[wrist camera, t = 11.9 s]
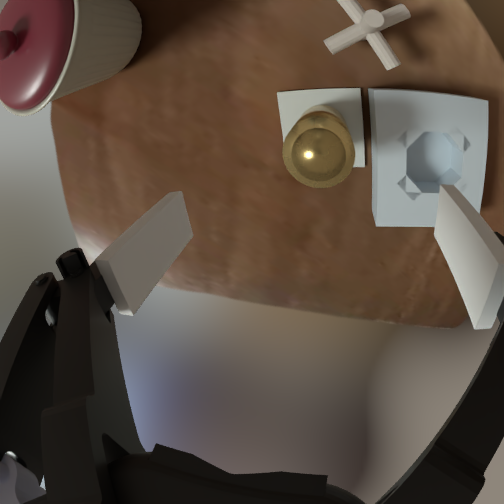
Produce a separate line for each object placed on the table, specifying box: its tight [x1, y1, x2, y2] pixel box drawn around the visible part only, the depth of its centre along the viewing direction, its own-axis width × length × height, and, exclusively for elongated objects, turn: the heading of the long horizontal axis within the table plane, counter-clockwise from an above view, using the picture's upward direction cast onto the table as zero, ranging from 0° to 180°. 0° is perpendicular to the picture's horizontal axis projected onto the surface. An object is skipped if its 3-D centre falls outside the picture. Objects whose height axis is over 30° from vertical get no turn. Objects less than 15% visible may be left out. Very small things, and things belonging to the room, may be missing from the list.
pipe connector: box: [324, 0, 411, 70], centre depth 22 cm, size 10×10×10 cm
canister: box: [0, 0, 142, 116], centre depth 24 cm, size 18×18×21 cm
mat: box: [277, 88, 365, 167], centre depth 34 cm, size 10×10×1 cm
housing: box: [368, 88, 488, 227], centre depth 30 cm, size 16×14×5 cm
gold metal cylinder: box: [283, 105, 355, 188], centre depth 29 cm, size 6×6×14 cm
